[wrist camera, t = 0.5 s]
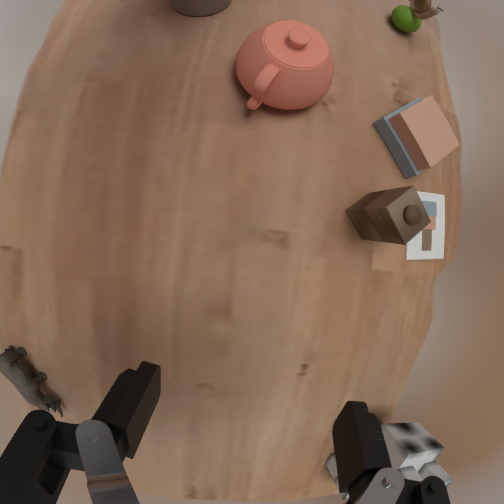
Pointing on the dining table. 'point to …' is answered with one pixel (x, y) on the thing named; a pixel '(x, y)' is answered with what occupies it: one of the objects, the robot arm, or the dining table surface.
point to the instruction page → (429, 230)
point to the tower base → (417, 135)
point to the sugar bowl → (285, 66)
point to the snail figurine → (413, 15)
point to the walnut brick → (389, 215)
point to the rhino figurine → (26, 380)
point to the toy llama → (406, 453)
